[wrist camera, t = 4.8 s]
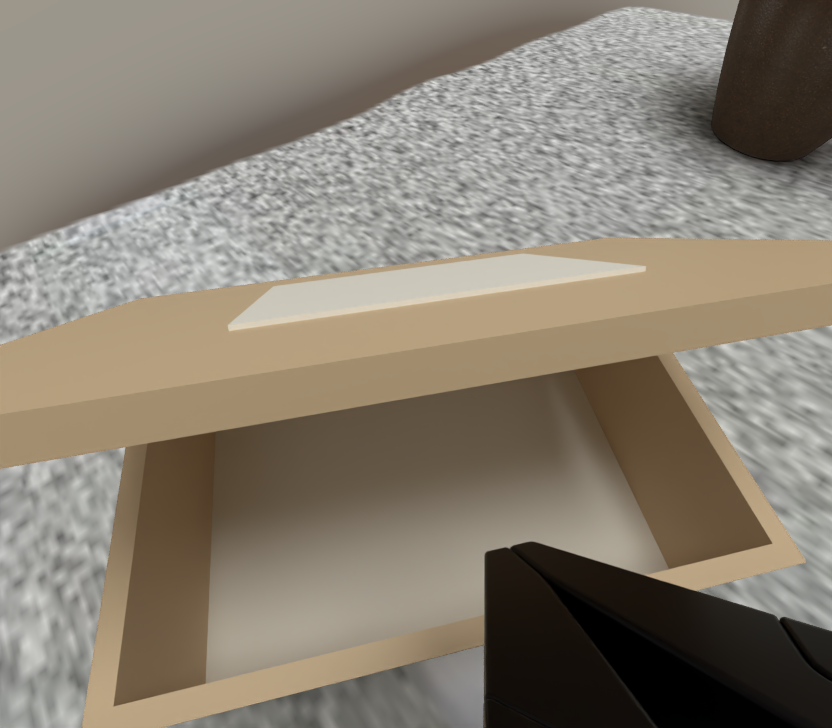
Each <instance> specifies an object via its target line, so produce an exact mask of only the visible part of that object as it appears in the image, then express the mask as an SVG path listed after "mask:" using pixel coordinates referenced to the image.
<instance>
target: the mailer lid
mask: <svg viewBox="0 0 832 728" xmlns="http://www.w3.org/2000/svg"><path fill="white" fill-rule="evenodd" d="M830 325H832V241H823V240H746V239H669V238H602V239H595V240H587V241H579V242H572V243H564V244H556V245H548V246H541V247H533V248H525V249H518V250H510V251H502V252H495V253H487V254H479V255H472V256H464V257H456V258H448V259H441V260H433V261H425V262H418V263H410V264H402V265H395V266H387V267H379V268H371V269H364V270H356V271H348V272H341V273H333V274H325V275H318V276H310V277H302V278H295V279H287V280H279V281H271V282H264V283H256V284H248V285H241V286H233V287H225V288H218V289H210V290H202V291H195V292H187V293H179V294H171V295H164V296H156V297H148V298H141V299H138V300H135V301H132V302H128V303H125V304H122V305H119V306H116V307H113V308H110V309H107V310H104V311H101V312H98V313H95V314H92V315H89V316H86V317H83V318H80V319H77V320H74V321H71V322H68V323H65V324H62V325H59V326H56V327H53V328H50V329H47V330H44V331H41V332H38V333H35V334H32V335H29V336H26V337H23V338H20V339H17V340H14V341H11V342H8V343H5V344H2V345H0V469H1V468H7V467H13V466H19V465H24V464H30V463H36V462H42V461H48V460H53V459H59V458H65V457H71V456H77V455H82V454H88V453H94V452H100V451H106V450H111V449H117V448H123V447H129V446H135V445H140V444H146V443H152V442H158V441H164V440H169V439H175V438H181V437H187V436H193V435H198V434H204V433H210V432H216V431H222V430H227V429H233V428H239V427H245V426H251V425H256V424H262V423H268V422H274V421H279V420H285V419H291V418H297V417H303V416H308V415H314V414H320V413H326V412H332V411H337V410H343V409H349V408H355V407H361V406H366V405H372V404H378V403H384V402H390V401H395V400H401V399H407V398H413V397H419V396H424V395H430V394H436V393H442V392H448V391H453V390H459V389H465V388H471V387H477V386H482V385H488V384H494V383H500V382H506V381H511V380H517V379H523V378H529V377H534V376H540V375H546V374H552V373H558V372H563V371H569V370H575V369H581V368H587V367H592V366H598V365H604V364H610V363H616V362H621V361H627V360H633V359H639V358H645V357H650V356H656V355H662V354H668V353H674V352H679V351H685V350H691V349H697V348H703V347H708V346H714V345H720V344H726V343H732V342H737V341H743V340H749V339H755V338H761V337H766V336H772V335H778V334H784V333H789V332H795V331H801V330H807V329H813V328H818V327H824V326H830Z"/></svg>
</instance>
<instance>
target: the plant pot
mask: <svg viewBox="0 0 832 728" xmlns="http://www.w3.org/2000/svg"><path fill="white" fill-rule="evenodd" d="M711 125H712V129H713V131H714V133H715V134H716V136H717V137H718V138H719V139H720V140H721V141H722V142H724V143H725V144H727V145H728V146H730V147H732V148H733V149H735V150H737V151H740V152H742V153H744V154H747V155H750V156H753V157H757V158H761V159H767V160H775V161H788V160H795V159H799V158H801V157H804V156H806V155H807V154H809V153H810V152H812V151H813V150H815V149H816V148H818V147H819V146H821V145H822V144H824V143H825V142H827V141H828V140H829V139H831V138H832V0H740V1H739V4H738V8H737V11H736V15H735V18H734V22H733V25H732V29H731V33H730V37H729V40H728V44H727V48H726V52H725V56H724V61H723V65H722V69H721V74H720V79H719V83H718V88H717V94H716V99H715V104H714V109H713V116H712V122H711Z"/></svg>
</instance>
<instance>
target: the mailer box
mask: <svg viewBox="0 0 832 728" xmlns="http://www.w3.org/2000/svg"><path fill="white" fill-rule="evenodd" d="M529 541H534V542H537V543H541V544H544V545H547V546H550V547H554V548H557V549H560V550H564V551H567V552H570V553H573V554H577V555H580V556H583V557H586V558H590V559H593V560H596V561H599V562H603V563H606V564H609V565H612V566H616V567H619V568H622V569H626V570H629V571H632V572H635V573H639V574H642V575H645V576H648V577H652V578H655V579H658V580H661V581H665V582H668V583H671V584H675V585H678V586H681V587H684V588H688V589H691V590H694V591H696V590H700V589H704V588H708V587H712V586H716V585H720V584H724V583H727V582H731V581H735V580H739V579H743V578H747V577H751V576H755V575H759V574H763V573H766V572H770V571H774V570H778V569H782V568H786V567H790V566H794V565H798V564H801V563H805V562H806V560H805V559H804V557H803V556H802V554H801V553H800V551H799V550H798V548H797V546H796V545H795V543H794V542H793V540H792V539H791V537H790V535H789V534H788V532H787V531H786V529H785V528H784V526H783V524H782V523H781V521H780V520H779V518H778V517H777V515H776V514H775V512H774V510H773V509H772V507H771V506H770V504H769V503H768V501H767V499H766V498H765V496H764V495H763V493H762V492H761V490H760V488H759V487H758V485H757V484H756V482H755V481H754V479H753V478H752V476H751V474H750V473H749V471H748V470H747V468H746V467H745V465H744V463H743V462H742V460H741V459H740V457H739V456H738V454H737V452H736V451H735V449H734V448H733V446H732V445H731V443H730V442H729V440H728V438H727V437H726V435H725V434H724V432H723V431H722V429H721V427H720V426H719V424H718V423H717V421H716V420H715V418H714V416H713V415H712V413H711V412H710V410H709V409H708V407H707V406H706V404H705V402H704V401H703V399H702V398H701V396H700V395H699V393H698V391H697V390H696V388H695V387H694V385H693V384H692V382H691V381H690V379H689V377H688V376H687V374H686V373H685V371H684V370H683V368H682V366H681V365H680V363H679V362H678V360H677V359H676V357H675V355H674V354H673V353H668V354H662V355H656V356H650V357H645V358H639V359H633V360H627V361H621V362H616V363H610V364H604V365H598V366H592V367H587V368H581V369H575V370H569V371H563V372H558V373H552V374H546V375H540V376H534V377H529V378H523V379H517V380H511V381H506V382H500V383H494V384H488V385H482V386H477V387H471V388H465V389H459V390H453V391H448V392H442V393H436V394H430V395H424V396H419V397H413V398H407V399H401V400H395V401H390V402H384V403H378V404H372V405H366V406H361V407H355V408H349V409H343V410H337V411H332V412H326V413H320V414H314V415H308V416H303V417H297V418H291V419H285V420H279V421H274V422H268V423H262V424H256V425H251V426H245V427H239V428H233V429H227V430H222V431H216V432H210V433H204V434H198V435H193V436H187V437H181V438H175V439H169V440H164V441H158V442H152V443H146V444H140V445H135V446H129V447H126V449H125V455H124V462H123V468H122V474H121V481H120V487H119V494H118V500H117V506H116V513H115V519H114V526H113V532H112V538H111V545H110V551H109V557H108V564H107V570H106V577H105V583H104V589H103V596H102V602H101V608H100V615H99V621H98V628H97V634H96V640H95V647H94V653H93V660H92V666H91V672H90V679H89V685H88V691H87V698H86V704H85V711H84V717H83V723H82V728H163V727H167V726H171V725H175V724H178V723H182V722H186V721H190V720H194V719H198V718H202V717H206V716H210V715H213V714H217V713H221V712H225V711H229V710H233V709H237V708H241V707H245V706H249V705H252V704H256V703H260V702H264V701H268V700H272V699H276V698H280V697H284V696H287V695H291V694H295V693H299V692H303V691H307V690H311V689H315V688H319V687H323V686H326V685H330V684H334V683H338V682H342V681H346V680H350V679H354V678H358V677H361V676H365V675H369V674H373V673H377V672H381V671H385V670H389V669H393V668H396V667H400V666H404V665H408V664H412V663H416V662H420V661H424V660H428V659H432V658H435V657H439V656H443V655H447V654H451V653H455V652H459V651H463V650H467V649H470V648H474V647H478V646H482V645H484V555H485V553H486V552H487V551H490V550H495V549H499V548H504V547H507V548H509V549H510V547H511V546H513V545H516V544H521V543H525V542H529Z"/></svg>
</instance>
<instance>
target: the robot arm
mask: <svg viewBox="0 0 832 728" xmlns="http://www.w3.org/2000/svg"><path fill="white" fill-rule="evenodd" d="M483 728H832V631H829V630H826V629H822V628H819V627H816V626H813V625H809V624H806V623H803V622H800V621H796V620H793V619H790V618H787V617H782V618H780V620H778V618H777V617H776V616H775V615H773V614H769V613H766V612H763V611H760V610H756V609H753V608H750V607H747V606H743V605H740V604H737V603H733V602H730V601H727V600H724V599H720V598H717V597H714V596H711V595H707V594H704V593H701V592H697V591H694V590H691V589H688V588H684V587H681V586H678V585H675V584H671V583H668V582H665V581H661V580H658V579H655V578H652V577H648V576H645V575H642V574H639V573H635V572H632V571H629V570H626V569H622V568H619V567H616V566H612V565H609V564H606V563H603V562H599V561H596V560H593V559H590V558H586V557H583V556H580V555H577V554H573V553H570V552H567V551H564V550H560V549H557V548H554V547H550V546H547V545H544V544H541V543H537V542H534V541H529V542H525V543H521V544H516V545H513V546H511V547H510V549H509V548H507V547H504V548H499V549H495V550H490V551H487V552H486V553H485V555H484V708H483Z"/></svg>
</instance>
